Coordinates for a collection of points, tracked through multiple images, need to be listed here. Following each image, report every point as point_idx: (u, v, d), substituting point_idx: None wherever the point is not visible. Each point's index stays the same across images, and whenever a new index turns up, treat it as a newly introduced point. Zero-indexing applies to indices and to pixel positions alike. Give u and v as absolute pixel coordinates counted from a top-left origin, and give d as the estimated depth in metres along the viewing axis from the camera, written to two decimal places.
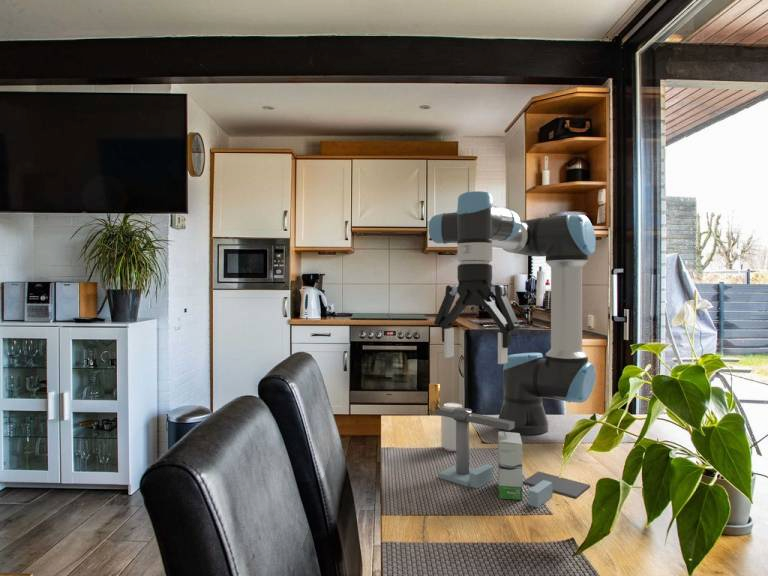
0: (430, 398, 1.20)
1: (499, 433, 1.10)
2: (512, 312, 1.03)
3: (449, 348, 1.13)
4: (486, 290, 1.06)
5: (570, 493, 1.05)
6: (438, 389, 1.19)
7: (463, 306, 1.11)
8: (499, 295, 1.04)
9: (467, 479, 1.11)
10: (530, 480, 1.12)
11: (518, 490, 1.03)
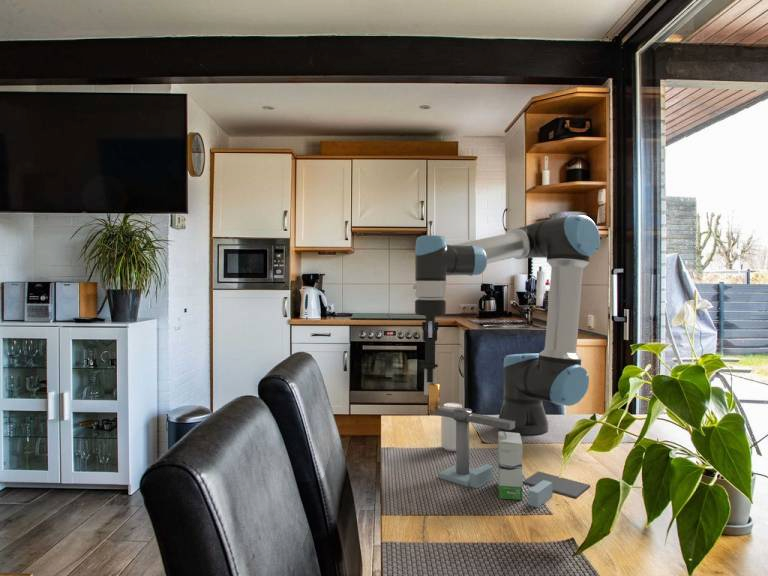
0: (430, 398, 1.19)
1: (499, 433, 1.10)
2: (432, 354, 1.18)
3: None
4: (425, 325, 1.19)
5: (570, 493, 1.05)
6: (438, 389, 1.19)
7: None
8: (425, 337, 1.17)
9: (467, 479, 1.11)
10: (530, 480, 1.12)
11: (518, 490, 1.03)
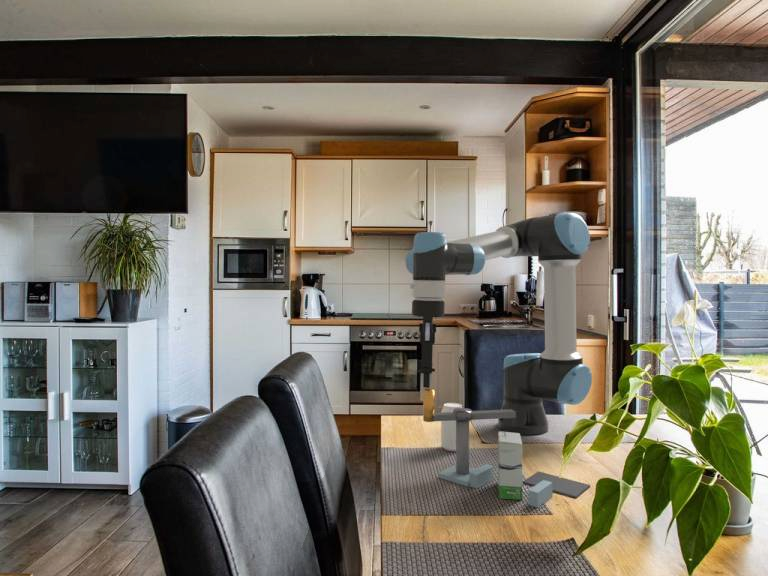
0: (429, 405, 1.12)
1: (499, 433, 1.10)
2: (429, 358, 1.11)
3: None
4: (422, 327, 1.12)
5: (570, 493, 1.05)
6: None
7: None
8: (421, 340, 1.10)
9: (467, 479, 1.11)
10: (530, 480, 1.12)
11: (518, 490, 1.03)
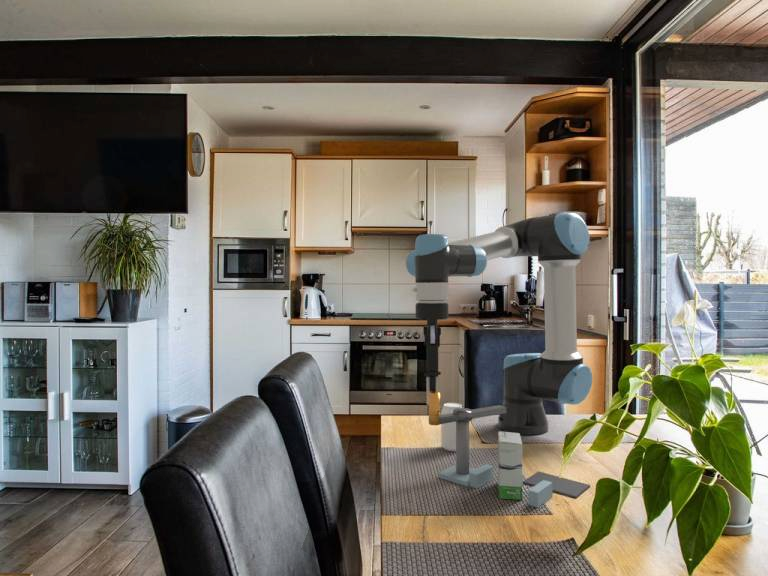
0: (437, 408, 1.10)
1: (499, 433, 1.10)
2: (435, 361, 1.10)
3: None
4: (427, 330, 1.11)
5: (570, 493, 1.05)
6: None
7: None
8: (427, 343, 1.09)
9: (467, 479, 1.11)
10: (530, 480, 1.12)
11: (518, 490, 1.03)
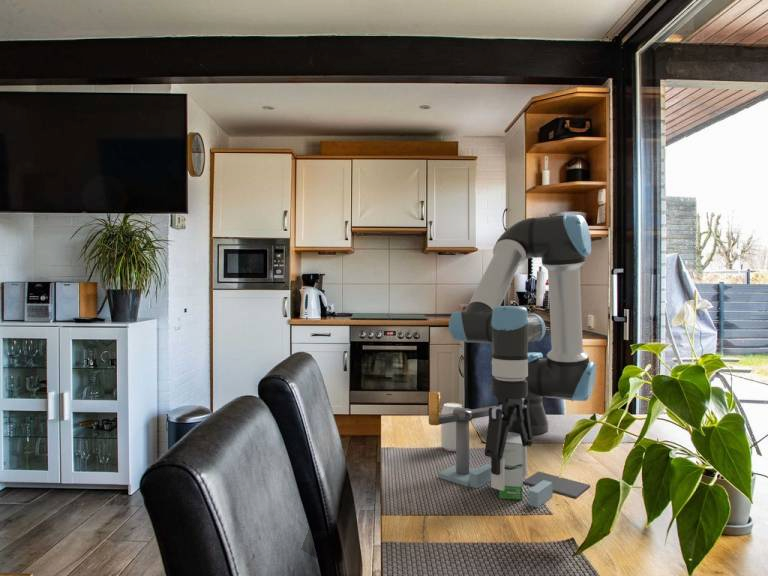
0: (437, 408, 1.10)
1: None
2: (494, 440, 1.01)
3: None
4: None
5: (570, 493, 1.05)
6: None
7: (516, 421, 1.09)
8: None
9: (467, 479, 1.11)
10: (530, 480, 1.12)
11: (518, 490, 1.03)
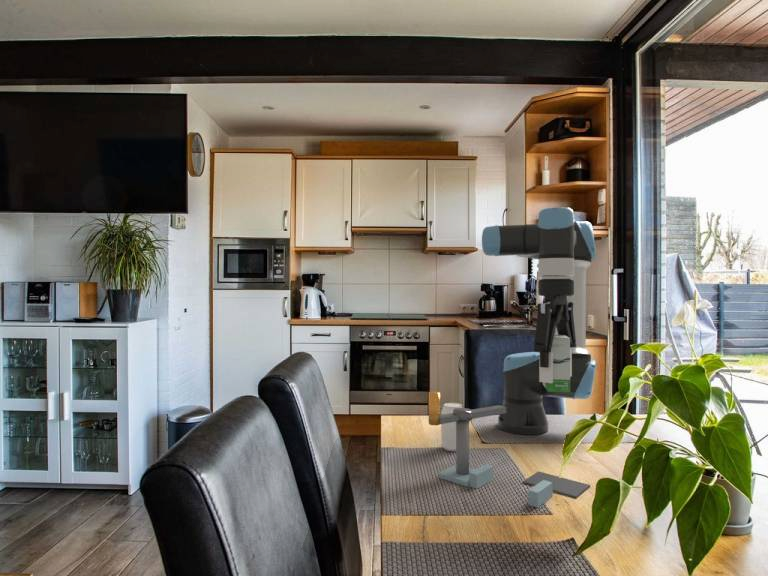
0: (437, 408, 1.10)
1: None
2: (543, 332, 1.04)
3: None
4: None
5: (570, 493, 1.05)
6: None
7: (561, 322, 1.12)
8: None
9: (467, 479, 1.11)
10: (530, 480, 1.12)
11: (566, 383, 1.06)
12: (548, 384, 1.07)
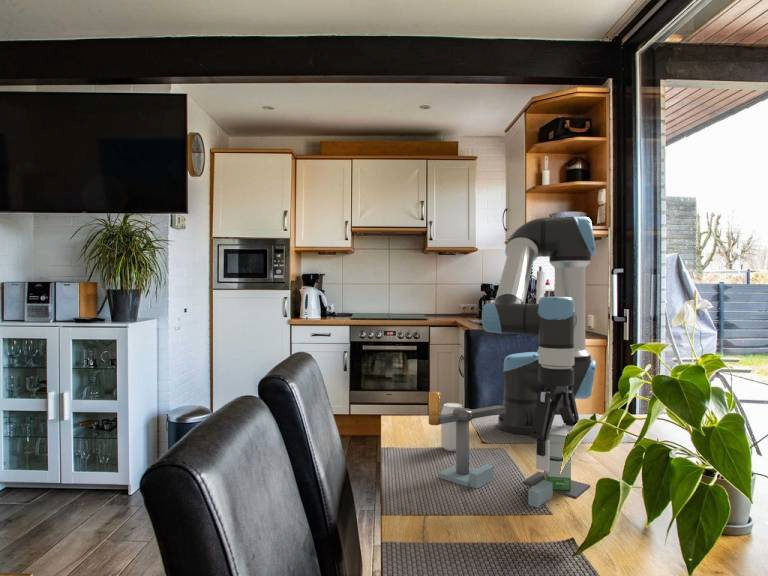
0: (437, 408, 1.10)
1: None
2: (541, 421, 1.03)
3: None
4: None
5: (570, 493, 1.05)
6: None
7: (563, 406, 1.12)
8: None
9: (467, 479, 1.11)
10: (530, 480, 1.12)
11: (567, 481, 1.06)
12: (549, 481, 1.07)
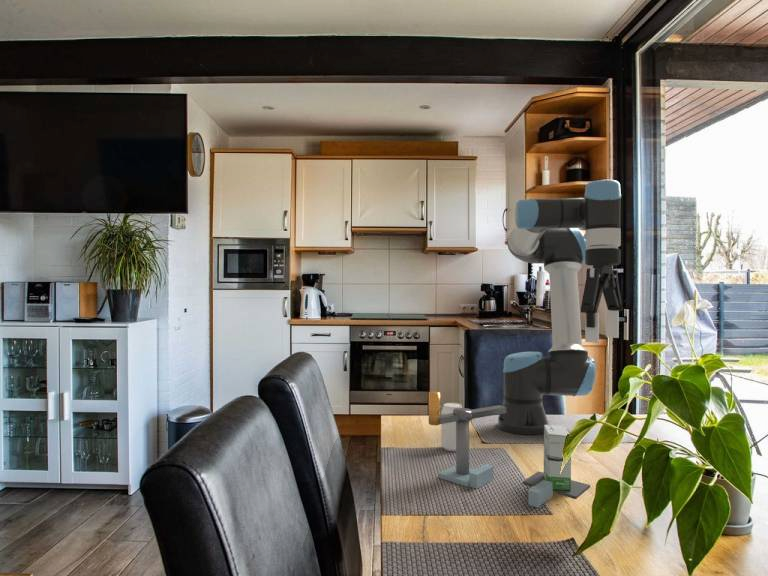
0: (437, 408, 1.10)
1: (546, 426, 1.13)
2: (591, 294, 1.08)
3: (609, 329, 1.20)
4: None
5: (570, 493, 1.05)
6: None
7: (608, 289, 1.17)
8: None
9: (467, 479, 1.11)
10: (530, 480, 1.12)
11: (567, 481, 1.06)
12: (549, 481, 1.07)
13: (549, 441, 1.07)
